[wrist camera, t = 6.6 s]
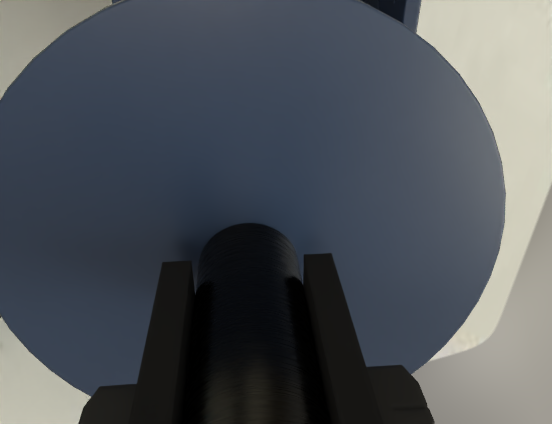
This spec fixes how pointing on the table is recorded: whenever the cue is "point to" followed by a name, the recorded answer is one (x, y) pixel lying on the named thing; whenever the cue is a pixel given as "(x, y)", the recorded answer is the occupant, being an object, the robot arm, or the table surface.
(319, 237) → the pot lid
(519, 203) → the table surface
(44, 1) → the table surface
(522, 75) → the table surface
